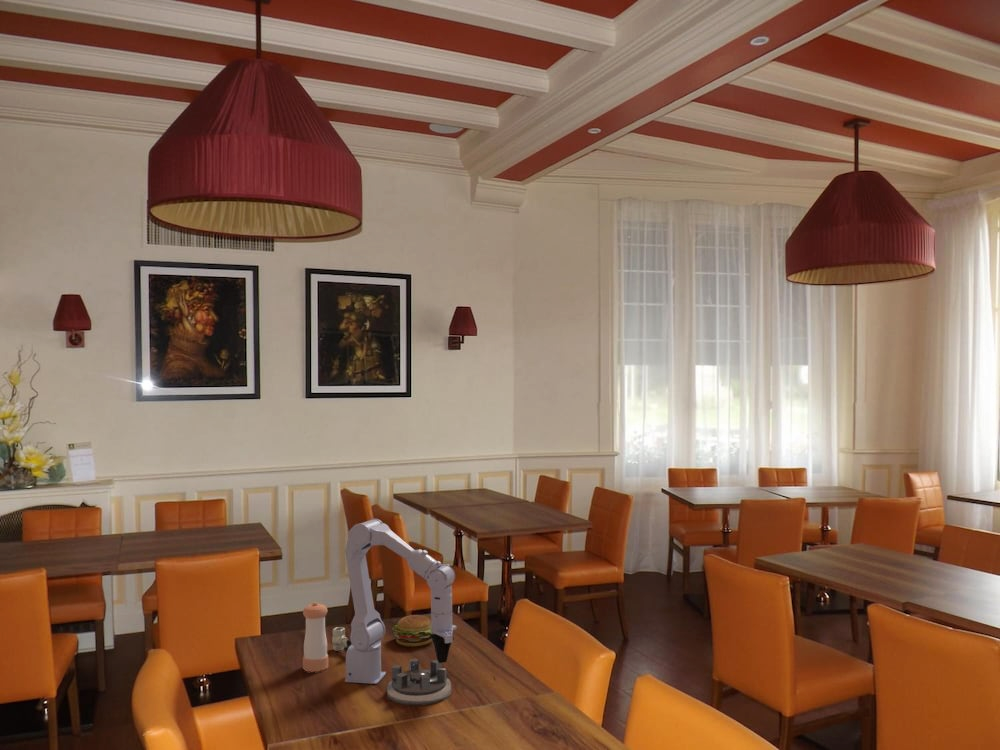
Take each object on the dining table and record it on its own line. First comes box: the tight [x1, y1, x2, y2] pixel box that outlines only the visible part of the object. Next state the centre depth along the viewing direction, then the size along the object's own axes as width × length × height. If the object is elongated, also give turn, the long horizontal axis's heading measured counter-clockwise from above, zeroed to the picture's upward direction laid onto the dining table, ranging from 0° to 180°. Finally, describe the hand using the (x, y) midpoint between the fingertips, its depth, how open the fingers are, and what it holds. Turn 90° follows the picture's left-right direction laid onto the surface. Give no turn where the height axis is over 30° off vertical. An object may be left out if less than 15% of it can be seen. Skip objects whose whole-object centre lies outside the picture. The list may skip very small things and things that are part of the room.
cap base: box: [386, 677, 452, 707], centre depth 204 cm, size 17×17×2 cm
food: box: [391, 614, 434, 648], centre depth 245 cm, size 14×14×8 cm
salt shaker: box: [302, 601, 329, 672], centre depth 223 cm, size 7×7×19 cm
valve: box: [331, 626, 352, 652], centre depth 235 cm, size 7×7×12 cm
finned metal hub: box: [391, 657, 448, 695], centre depth 204 cm, size 15×15×4 cm
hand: (442, 661), depth 207 cm, fingers closed
